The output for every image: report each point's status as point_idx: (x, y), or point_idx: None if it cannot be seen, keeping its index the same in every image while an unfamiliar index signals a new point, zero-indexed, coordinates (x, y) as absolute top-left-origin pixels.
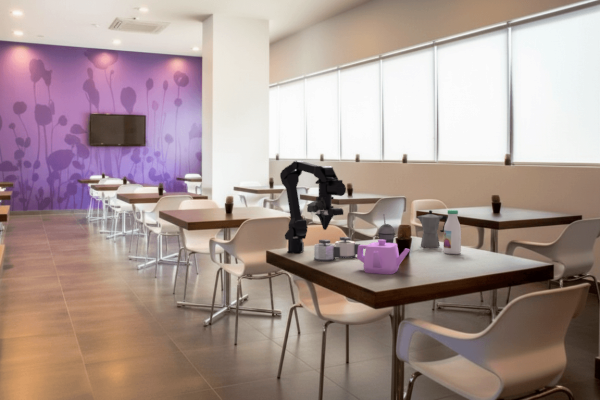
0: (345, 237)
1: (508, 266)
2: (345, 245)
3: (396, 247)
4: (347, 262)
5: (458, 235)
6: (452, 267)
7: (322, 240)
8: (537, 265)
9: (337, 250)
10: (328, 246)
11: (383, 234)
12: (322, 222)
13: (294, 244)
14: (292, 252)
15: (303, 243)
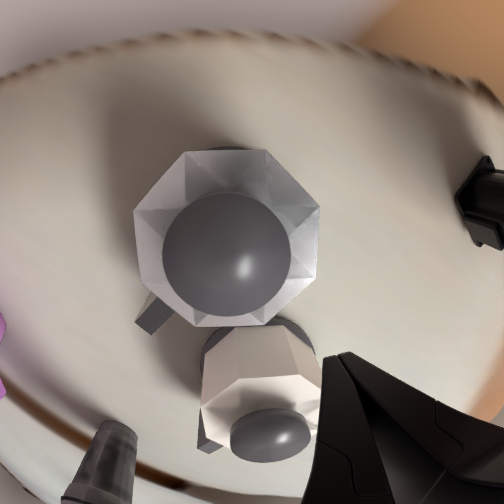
0: (277, 446)
1: (28, 482)
2: (207, 392)
3: None
4: (95, 289)
5: None
6: (10, 441)
7: (228, 233)
8: (39, 497)
9: (150, 300)
10: (135, 235)
11: (64, 496)
12: (395, 416)
13: (501, 186)
14: (474, 171)
15: (495, 245)
